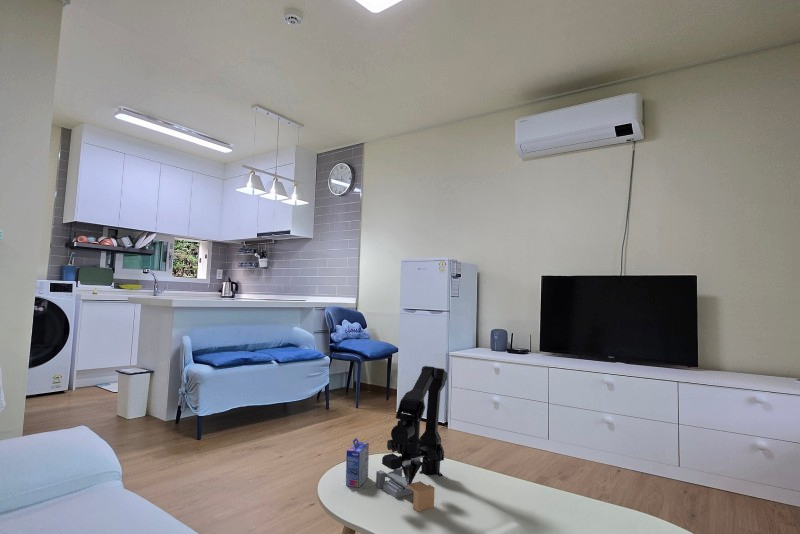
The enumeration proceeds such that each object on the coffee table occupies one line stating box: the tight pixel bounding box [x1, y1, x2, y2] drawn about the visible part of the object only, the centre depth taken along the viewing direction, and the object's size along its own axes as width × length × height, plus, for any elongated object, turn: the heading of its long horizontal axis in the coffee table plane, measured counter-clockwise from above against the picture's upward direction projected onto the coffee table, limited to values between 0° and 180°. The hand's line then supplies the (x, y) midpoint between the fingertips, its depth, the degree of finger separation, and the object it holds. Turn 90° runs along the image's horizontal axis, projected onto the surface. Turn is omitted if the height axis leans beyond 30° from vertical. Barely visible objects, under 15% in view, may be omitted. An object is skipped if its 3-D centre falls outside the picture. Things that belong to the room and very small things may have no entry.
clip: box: [408, 480, 436, 512], centre depth 137 cm, size 6×6×6 cm
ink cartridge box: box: [345, 437, 370, 489], centre depth 155 cm, size 10×6×14 cm, turn 165°
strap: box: [385, 470, 413, 489], centre depth 146 cm, size 3×13×1 cm, turn 36°
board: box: [362, 467, 414, 499], centre depth 143 cm, size 18×23×6 cm
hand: (408, 484), depth 142 cm, fingers closed
